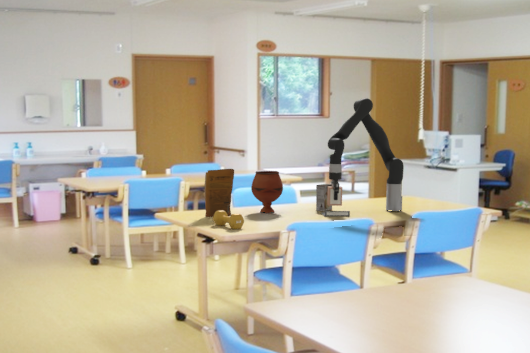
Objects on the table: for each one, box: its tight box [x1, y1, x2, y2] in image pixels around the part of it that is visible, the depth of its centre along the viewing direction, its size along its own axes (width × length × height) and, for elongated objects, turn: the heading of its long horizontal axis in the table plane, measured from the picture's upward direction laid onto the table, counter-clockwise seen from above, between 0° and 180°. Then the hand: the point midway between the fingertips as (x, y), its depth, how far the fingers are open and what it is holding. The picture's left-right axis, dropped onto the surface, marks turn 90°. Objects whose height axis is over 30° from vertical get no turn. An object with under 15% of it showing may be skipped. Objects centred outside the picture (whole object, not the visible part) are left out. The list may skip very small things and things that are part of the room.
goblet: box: [251, 170, 284, 214], centre depth 451 cm, size 19×19×25 cm
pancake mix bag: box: [204, 168, 235, 218], centre depth 433 cm, size 7×19×28 cm, turn 115°
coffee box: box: [315, 183, 333, 212], centre depth 464 cm, size 9×6×16 cm
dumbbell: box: [212, 210, 245, 230], centre depth 397 cm, size 19×9×8 cm, turn 38°
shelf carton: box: [327, 185, 343, 207], centre depth 445 cm, size 5×8×11 cm, turn 96°
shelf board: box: [321, 210, 351, 217], centre depth 444 cm, size 15×12×3 cm
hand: (334, 199), depth 446 cm, fingers closed on shelf carton, 5 cm apart
